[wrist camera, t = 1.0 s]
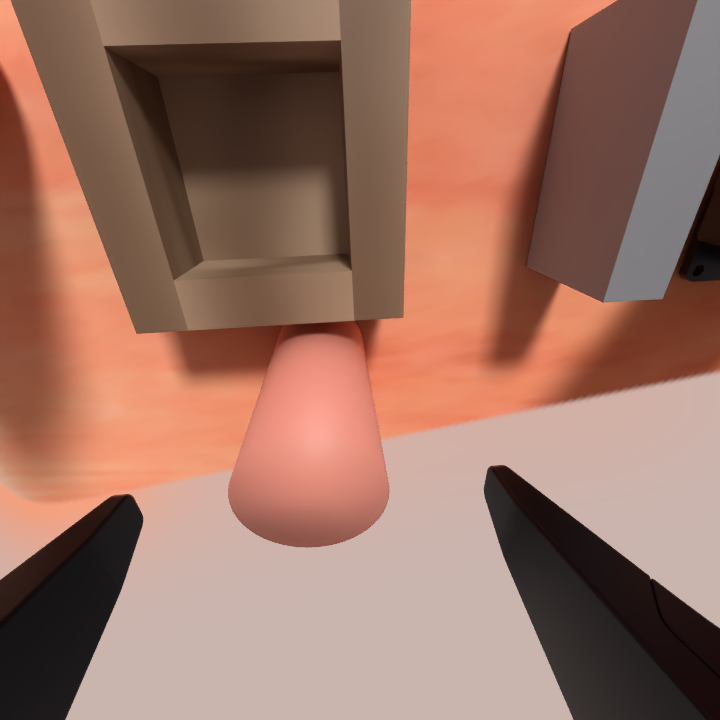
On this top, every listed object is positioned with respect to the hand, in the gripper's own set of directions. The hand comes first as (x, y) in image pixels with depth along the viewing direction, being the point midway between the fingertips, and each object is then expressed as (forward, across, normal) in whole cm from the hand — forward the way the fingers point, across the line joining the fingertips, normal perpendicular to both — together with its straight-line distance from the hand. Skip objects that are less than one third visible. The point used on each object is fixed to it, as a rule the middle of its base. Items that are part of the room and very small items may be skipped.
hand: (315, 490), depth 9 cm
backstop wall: (+9, -10, -7) cm, 15 cm away
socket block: (+9, +2, -7) cm, 11 cm away
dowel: (+9, 0, 0) cm, 9 cm away
